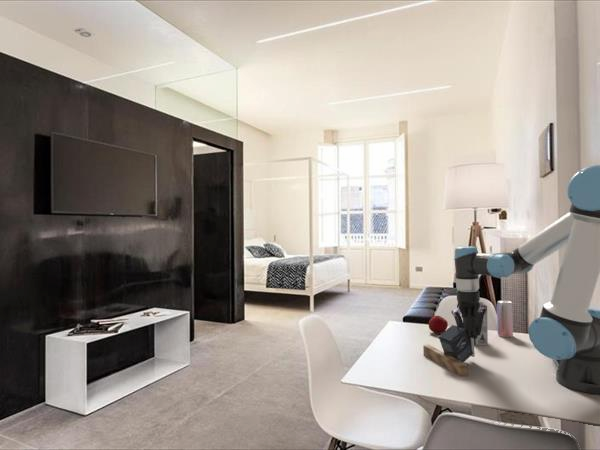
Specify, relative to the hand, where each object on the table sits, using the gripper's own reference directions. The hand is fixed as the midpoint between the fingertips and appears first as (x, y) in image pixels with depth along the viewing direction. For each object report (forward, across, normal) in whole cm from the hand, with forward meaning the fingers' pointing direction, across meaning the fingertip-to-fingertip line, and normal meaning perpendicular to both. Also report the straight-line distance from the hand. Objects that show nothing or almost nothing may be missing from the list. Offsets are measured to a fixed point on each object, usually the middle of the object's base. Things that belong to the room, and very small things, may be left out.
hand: (471, 355), depth 136 cm
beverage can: (+4, -35, -24) cm, 43 cm away
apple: (+3, -9, -35) cm, 37 cm away
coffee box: (+3, -17, -19) cm, 26 cm away
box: (0, +5, 0) cm, 5 cm away
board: (+1, +12, +1) cm, 12 cm away
